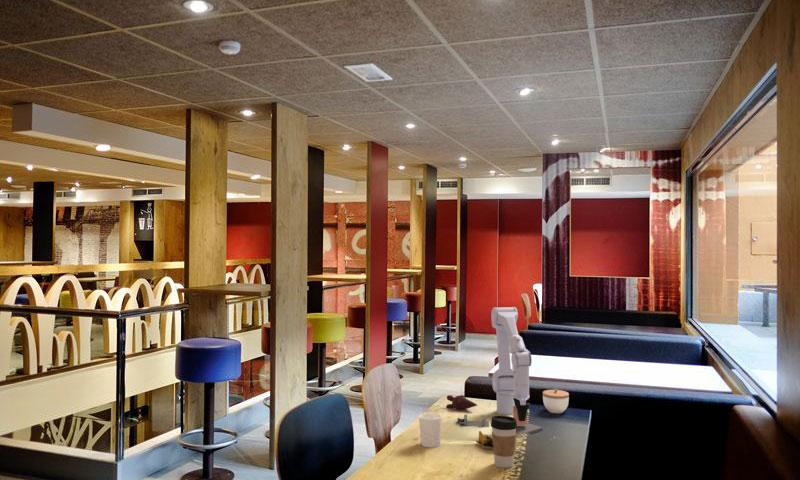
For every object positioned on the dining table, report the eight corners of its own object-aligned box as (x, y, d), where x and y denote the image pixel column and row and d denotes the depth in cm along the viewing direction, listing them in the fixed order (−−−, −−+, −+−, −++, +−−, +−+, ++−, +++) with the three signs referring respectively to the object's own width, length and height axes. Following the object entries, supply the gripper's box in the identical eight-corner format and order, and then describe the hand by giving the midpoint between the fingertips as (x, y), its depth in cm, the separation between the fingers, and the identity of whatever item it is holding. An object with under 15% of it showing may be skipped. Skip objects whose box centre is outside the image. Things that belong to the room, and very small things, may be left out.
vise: (457, 428, 230) (457, 419, 230) (457, 422, 237) (457, 413, 237) (489, 429, 229) (489, 420, 229) (488, 423, 236) (488, 414, 236)
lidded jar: (542, 414, 249) (542, 391, 249) (542, 407, 259) (542, 385, 259) (569, 415, 246) (569, 392, 246) (568, 408, 257) (568, 386, 257)
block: (513, 424, 227) (513, 408, 227) (513, 421, 231) (512, 406, 231) (527, 425, 226) (527, 409, 226) (526, 421, 230) (526, 406, 230)
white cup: (444, 442, 215) (444, 414, 215) (438, 449, 207) (438, 420, 207) (422, 439, 217) (422, 412, 217) (416, 446, 210) (416, 418, 210)
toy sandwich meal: (506, 438, 219) (506, 425, 219) (518, 451, 206) (518, 437, 206) (472, 440, 218) (472, 427, 218) (482, 453, 204) (482, 439, 204)
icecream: (481, 396, 252) (451, 394, 262) (472, 395, 247) (442, 393, 256) (480, 413, 250) (450, 410, 260) (471, 413, 245) (441, 410, 254)
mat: (519, 423, 236) (519, 420, 236) (542, 430, 228) (542, 427, 228) (500, 428, 230) (500, 426, 230) (523, 436, 221) (523, 433, 221)
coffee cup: (487, 460, 197) (487, 414, 197) (513, 459, 198) (513, 413, 198) (494, 469, 189) (494, 422, 189) (520, 469, 189) (520, 421, 189)
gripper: (509, 378, 236) (509, 413, 236) (511, 387, 222) (512, 424, 222) (527, 379, 236) (527, 413, 236) (531, 388, 221) (531, 425, 221)
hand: (521, 419), depth 229 cm, fingers closed on block, 4 cm apart
